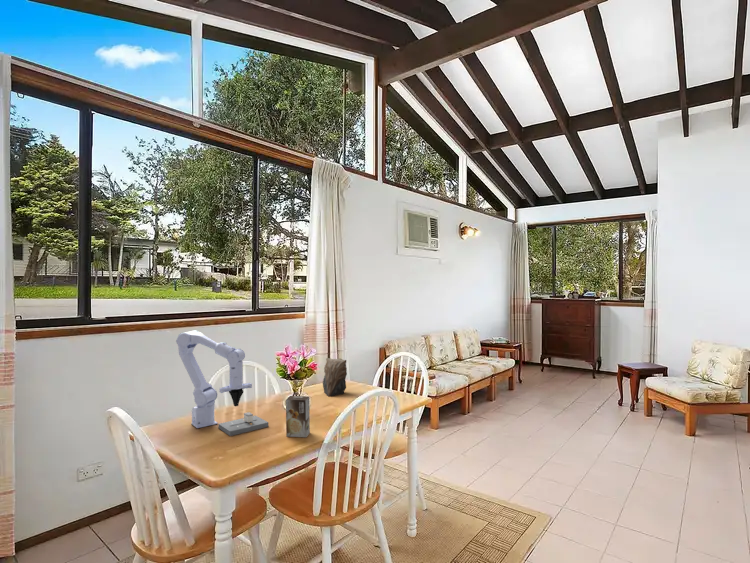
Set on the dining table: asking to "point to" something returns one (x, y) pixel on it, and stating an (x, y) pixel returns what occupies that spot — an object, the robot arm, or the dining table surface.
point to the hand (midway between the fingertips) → (235, 405)
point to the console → (242, 426)
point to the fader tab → (248, 417)
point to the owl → (334, 377)
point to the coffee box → (297, 416)
